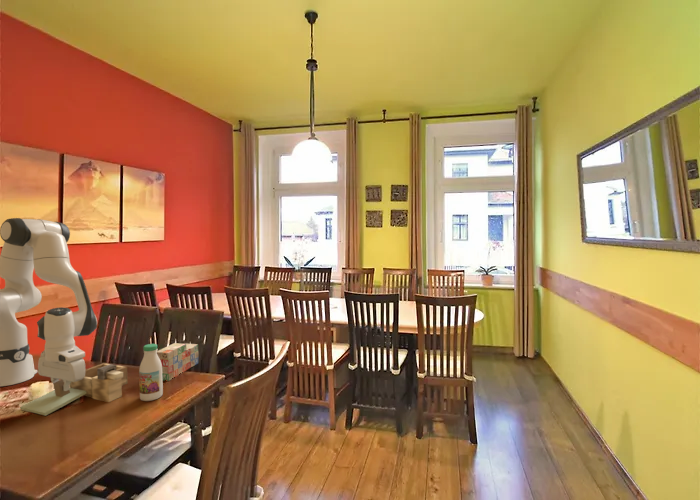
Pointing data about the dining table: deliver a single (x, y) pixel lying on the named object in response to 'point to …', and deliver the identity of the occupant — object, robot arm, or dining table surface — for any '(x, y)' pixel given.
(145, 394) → the milk bottle
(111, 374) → the wooden block
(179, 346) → the stack of blocks
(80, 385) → the wooden cabinet
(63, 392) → the lid
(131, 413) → the dining table surface
